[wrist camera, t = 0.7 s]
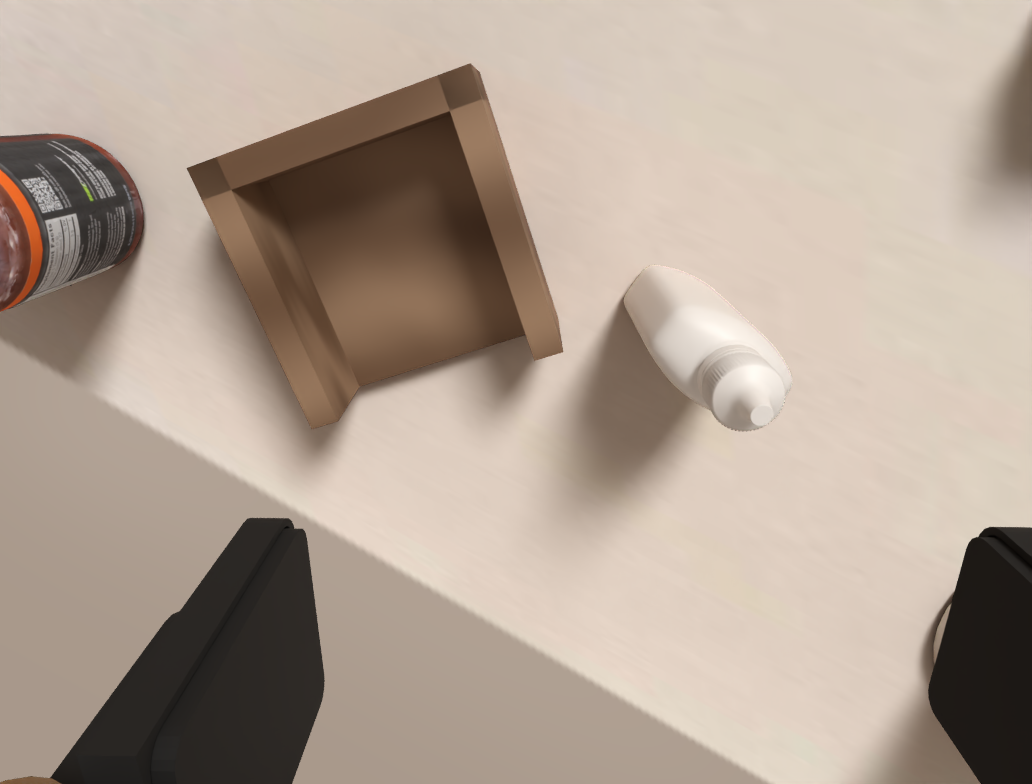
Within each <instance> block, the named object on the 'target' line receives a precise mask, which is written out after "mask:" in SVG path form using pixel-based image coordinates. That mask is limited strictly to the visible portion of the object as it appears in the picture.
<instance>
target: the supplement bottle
mask: <svg viewBox="0 0 1032 784" xmlns="http://www.w3.org/2000/svg"><path fill="white" fill-rule="evenodd" d="M143 222H144V220H143V207H142V202H141V199H140V196H139V193H138V190H137V188H136V186H135V183H134V181H133V180H132V178H131V177H130V175H129V174H128V172H127V171H126V170H125V168H124V167H123V166H122V165H121V164H120V163H119V162H118V161H117V160H116V159H115V158H114V157H113V156H112V155H111V154H110V153H108V152H107V151H106V150H104V149H103V148H101V147H99V146H98V145H96V144H94V143H92V142H90V141H88V140H85V139H82V138H79V137H76V136H71V135H64V134H32V135H16V136H0V312H1V311H3V310H6V309H10V308H13V307H16V306H18V305H21V304H23V303H25V302H28V301H30V300H33V299H36V298H38V297H41V296H43V295H46V294H48V293H50V292H53V291H56V290H58V289H61V288H64V287H66V286H69V285H70V286H71V285H72V284H74V283H76V282H79V281H82V280H84V279H87V278H89V277H92V276H95V275H97V274H99V273H102V272H104V271H106V270H108V269H110V268H113V267H114V266H116V265H118V264H120V263H121V262H122V261H124V260H125V259H127V257H129V256H130V255H131V253H132V252H133V251H134V249H135V247H136V246H137V244H138V242H139V240H140V237H141V233H142V228H143Z"/></svg>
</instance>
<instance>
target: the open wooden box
mask: <svg viewBox="0 0 1032 784" xmlns="http://www.w3.org/2000/svg"><path fill="white" fill-rule="evenodd" d="M187 170H188V172H189V174H190V176H191V178H192V180H193V182H194V184H195V186H196V189H197V191H198V193H199V195H200V197H201V199H202V201H203V203H204V205H205V207H206V209H207V212H208V214H209V216H210V218H211V220H212V222H213V224H214V226H215V228H216V230H217V232H218V234H219V237H220V239H221V241H222V243H223V245H224V247H225V249H226V251H227V253H228V255H229V257H230V260H231V262H232V264H233V266H234V268H235V270H236V272H237V274H238V276H239V278H240V280H241V282H242V285H243V287H244V289H245V291H246V293H247V295H248V297H249V299H250V301H251V303H252V305H253V308H254V310H255V312H256V314H257V316H258V318H259V320H260V322H261V324H262V326H263V328H264V330H265V333H266V335H267V337H268V339H269V341H270V343H271V345H272V347H273V349H274V351H275V353H276V356H277V358H278V360H279V362H280V364H281V366H282V368H283V370H284V372H285V374H286V376H287V378H288V381H289V383H290V385H291V387H292V389H293V391H294V393H295V395H296V397H297V399H298V401H299V404H300V406H301V408H302V410H303V412H304V414H305V416H306V418H307V420H308V422H309V424H310V426H311V429H314V428H318V427H321V426H324V425H327V424H331V423H334V422H337V421H338V420H339V419H340V417H341V416H342V414H343V412H344V411H345V409H346V408H347V406H348V404H349V403H350V401H351V399H352V398H353V396H354V395H355V393H356V391H357V390H358V388H359V387H360V386H363V385H366V384H369V383H373V382H376V381H379V380H382V379H385V378H389V377H392V376H395V375H398V374H401V373H405V372H408V371H411V370H414V369H417V368H421V367H424V366H427V365H430V364H433V363H437V362H440V361H443V360H446V359H449V358H452V357H456V356H459V355H462V354H465V353H468V352H472V351H475V350H478V349H481V348H484V347H488V346H491V345H494V344H497V343H500V342H504V341H507V340H510V339H513V338H516V337H520V336H523V335H526V337H527V340H528V343H529V346H530V349H531V352H532V355H533V358H534V361H535V360H539V359H542V358H545V357H548V356H552V355H555V354H558V353H561V352H563V348H562V341H561V335H560V328H559V322H558V317H557V314H556V310H555V307H554V304H553V301H552V298H551V295H550V292H549V288H548V285H547V282H546V279H545V276H544V273H543V270H542V267H541V263H540V260H539V257H538V254H537V251H536V248H535V245H534V241H533V238H532V235H531V232H530V229H529V226H528V223H527V219H526V216H525V213H524V210H523V207H522V204H521V201H520V198H519V194H518V191H517V188H516V185H515V182H514V179H513V176H512V172H511V169H510V166H509V163H508V160H507V157H506V154H505V150H504V147H503V144H502V141H501V138H500V135H499V132H498V129H497V125H496V122H495V119H494V116H493V113H492V110H491V107H490V103H489V100H488V97H487V94H486V91H485V88H484V85H483V81H482V78H481V75H480V72H479V71H478V70H477V69H476V68H475V67H474V66H473V65H471V64H467V65H465V66H462V67H459V68H457V69H454V70H451V71H448V72H446V73H443V74H440V75H438V76H435V77H432V78H429V79H427V80H424V81H421V82H419V83H416V84H413V85H411V86H408V87H405V88H402V89H400V90H397V91H394V92H392V93H389V94H386V95H383V96H381V97H378V98H375V99H373V100H370V101H367V102H365V103H362V104H359V105H356V106H354V107H351V108H348V109H346V110H343V111H340V112H337V113H335V114H332V115H329V116H327V117H324V118H321V119H319V120H316V121H313V122H310V123H308V124H305V125H302V126H300V127H297V128H294V129H291V130H289V131H286V132H283V133H281V134H278V135H275V136H273V137H270V138H267V139H264V140H262V141H259V142H256V143H254V144H251V145H248V146H245V147H243V148H240V149H237V150H235V151H232V152H229V153H227V154H224V155H221V156H218V157H216V158H213V159H210V160H208V161H205V162H202V163H199V164H197V165H194V166H191V167H189V168H187Z"/></svg>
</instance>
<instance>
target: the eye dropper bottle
mask: <svg viewBox="0 0 1032 784" xmlns="http://www.w3.org/2000/svg"><path fill="white" fill-rule="evenodd" d="M624 304H625V307H626V309H627V311H628V313H629V315H630V317H631V319H632V321H633V323H634V325H635V327H636V329H637V331H638V332H639V334H640V336H641V338H642V340H643V342H644V344H645V346H646V348H647V349H648V351H649V353H650V355H651V356H652V358H653V359H654V361H655V363H656V364H657V365H658V367H659V368H660V369H661V371H662V372H663V373H664V375H665V376H666V377H667V378H668V379H669V380H670V382H671V383H672V384H673V385H674V386H675V387H677V388H678V389H679V390H680V391H681V392H682V393H683V394H684V395H686V396H687V397H688V398H690V399H691V400H693V401H694V402H696V403H697V404H699V405H701V406H703V407H705V408H707V409H709V410H711V412H712V413H713V415H714V417H715V418H716V419H717V420H718V421H719V422H720V423H721V424H722V425H724V426H725V427H727V428H731V430H735V431H737V430H738V431H742V432H743V431H746V432H747V431H752V430H756V429H759V428H762V427H763V426H766V425H767V424H769V423H770V422H772V420H773V419H775V417H776V416H777V415H778V414H779V413H780V411H781V410H782V407H783V404H784V403H785V402H784V400H785V396H786V395H787V394H788V392H789V391H790V389H791V386H792V375H791V373H790V370H789V368H788V366H787V364H786V362H785V361H784V359H783V357H782V356H781V354H780V353H779V352H778V350H777V349H776V348H775V347H774V346H773V344H772V343H771V342H770V341H769V340H768V339H767V338H766V337H765V336H764V335H763V334H762V333H761V332H760V331H759V330H758V329H757V328H756V327H754V326H753V325H752V324H751V323H750V322H749V321H748V320H747V319H746V318H745V317H744V316H743V315H742V314H741V313H739V312H738V311H737V310H736V309H735V308H734V307H733V306H732V305H731V304H730V303H729V302H728V301H727V300H725V299H724V298H723V297H722V296H721V295H720V294H719V293H718V292H717V291H716V290H714V289H713V288H712V287H711V286H709V285H708V284H706V283H705V282H703V281H702V280H700V279H698V278H697V277H695V276H693V275H691V274H688V273H686V272H684V271H681V270H678V269H675V268H671V267H667V266H662V265H651V266H648V267H646V268H645V269H644V270H643V271H642V272H641V273H640V275H639V276H638V277H637V279H636V280H635V281H634V283H633V284H632V286H631V287H630V288H629V290H628V291H627V293H626V295H625V298H624Z"/></svg>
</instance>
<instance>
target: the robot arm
mask: <svg viewBox="0 0 1032 784" xmlns="http://www.w3.org/2000/svg"><path fill="white" fill-rule="evenodd" d="M933 650H934V669H933V673H932V676H931V680H930V684H929V690H928V693H929V701H930V705H931V708H932V711H933V713H934V714H935V716H936V718H937V719H938V721H939V722H940V724H941V725H942V727H943V728H944V730H945V731H946V733H947V734H948V736H949V737H950V739H951V740H952V742H953V743H954V745H955V746H956V747H957V749H958V750H959V752H960V753H961V755H962V756H963V758H964V759H965V761H966V762H967V764H968V765H969V767H970V768H971V770H972V771H973V773H974V774H975V776H976V777H977V779H978V780H979V782H980V783H981V784H1032V528H1027V527H989V528H986V529H984V530H983V531H982V532H981V533H980V535H979V537H976V538H973V539H972V540H971V541H970V542H969V544H968V546H967V549H966V552H965V556H964V560H963V563H962V567H961V571H960V574H959V578H958V581H957V585H956V589H955V592H954V596H953V600H952V603H951V604H950V605H949V607H948V608H947V609H946V611H945V613H944V615H943V617H942V619H941V622H940V624H939V626H938V628H937V632H936V636H935V641H934V645H933ZM323 691H324V670H323V662H322V654H321V646H320V639H319V632H318V623H317V615H316V607H315V599H314V591H313V583H312V576H311V567H310V560H309V552H308V545H307V538H306V533H305V531H304V530H303V529H294V525H293V523H292V521H291V520H290V519H288V518H285V519H284V518H249V519H247V520H246V521H245V522H244V523H243V524H242V526H241V527H240V529H239V530H238V531H237V533H236V534H235V536H234V537H233V538H232V540H231V541H230V543H229V544H228V545H227V547H226V548H225V550H224V551H223V552H222V554H221V555H220V556H219V558H218V559H217V561H216V562H215V563H214V565H213V566H212V568H211V569H210V570H209V572H208V573H207V575H206V576H205V577H204V579H203V580H202V581H201V583H200V584H199V585H198V587H197V588H196V590H195V591H194V593H193V594H192V595H191V597H190V598H189V599H188V601H187V602H186V604H185V605H184V606H183V608H182V609H181V610H180V611H179V612H177V613H175V614H173V615H171V616H170V617H169V618H168V620H166V622H165V623H164V624H163V625H162V627H161V628H160V629H159V631H158V632H157V634H156V635H155V636H154V638H153V639H152V640H151V642H150V643H149V644H148V646H147V647H146V648H145V650H144V651H143V653H142V654H141V655H140V657H139V658H138V659H137V661H136V662H135V664H134V665H133V666H132V667H131V669H130V670H129V672H128V673H127V674H126V676H125V677H124V678H123V680H122V681H121V683H120V684H119V685H118V686H117V688H116V689H115V691H114V692H113V693H112V695H111V696H110V697H109V699H108V700H107V701H106V703H105V704H104V706H103V707H102V708H101V710H100V711H99V712H98V714H97V715H96V716H95V718H94V719H93V721H92V722H91V723H90V725H89V726H88V727H87V729H86V730H85V731H84V733H83V734H82V735H81V737H80V738H79V739H78V741H77V742H76V744H75V745H74V746H73V748H72V749H71V750H70V752H69V753H68V754H67V756H66V757H65V759H64V760H63V761H62V763H61V764H60V765H59V767H58V768H57V769H56V771H55V772H54V774H53V775H52V776H51V778H43V777H33V776H30V777H23V778H17V779H12V780H5V781H3V782H0V784H292V782H293V779H294V776H295V774H296V771H297V768H298V766H299V763H300V760H301V757H302V755H303V752H304V749H305V746H306V743H307V741H308V738H309V735H310V732H311V730H312V727H313V724H314V721H315V719H316V716H317V713H318V711H319V708H320V705H321V702H322V698H323Z"/></svg>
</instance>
